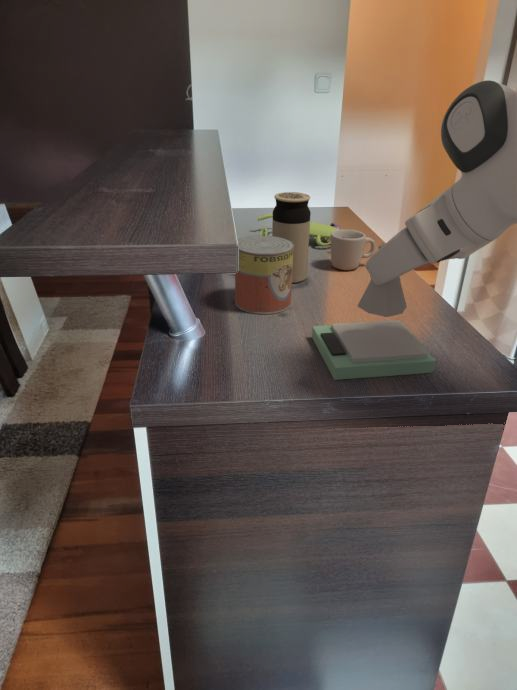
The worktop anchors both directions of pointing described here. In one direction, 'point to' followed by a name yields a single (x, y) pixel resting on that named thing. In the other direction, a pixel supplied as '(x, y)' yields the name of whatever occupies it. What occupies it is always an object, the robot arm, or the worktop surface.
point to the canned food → (264, 274)
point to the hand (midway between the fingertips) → (382, 275)
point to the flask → (384, 298)
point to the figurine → (311, 230)
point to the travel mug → (293, 228)
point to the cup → (349, 248)
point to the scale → (371, 350)
